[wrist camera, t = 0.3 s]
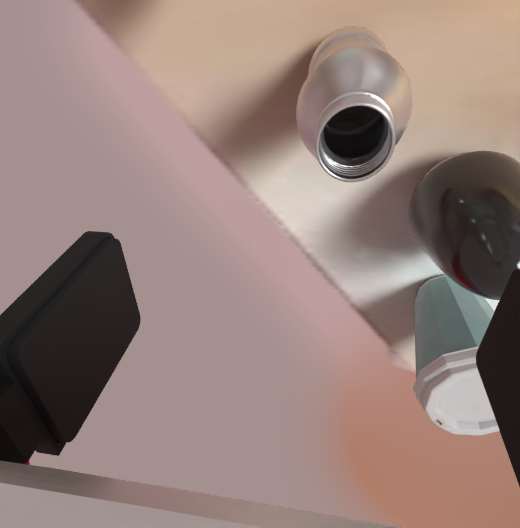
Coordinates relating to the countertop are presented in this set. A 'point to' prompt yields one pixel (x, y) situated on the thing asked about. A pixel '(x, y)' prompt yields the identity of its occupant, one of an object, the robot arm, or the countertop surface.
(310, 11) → the countertop surface
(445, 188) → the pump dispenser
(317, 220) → the countertop surface
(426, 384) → the disposable coffee cup
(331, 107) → the plastic bottle
